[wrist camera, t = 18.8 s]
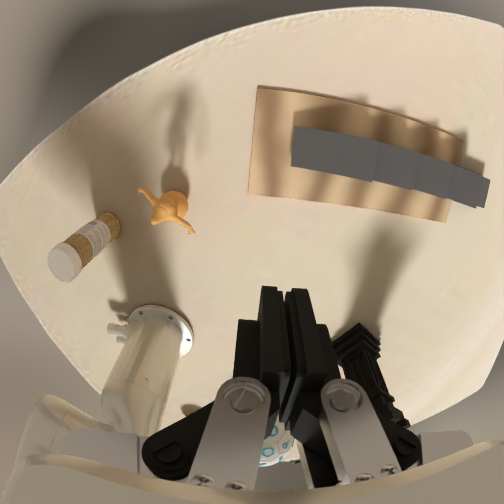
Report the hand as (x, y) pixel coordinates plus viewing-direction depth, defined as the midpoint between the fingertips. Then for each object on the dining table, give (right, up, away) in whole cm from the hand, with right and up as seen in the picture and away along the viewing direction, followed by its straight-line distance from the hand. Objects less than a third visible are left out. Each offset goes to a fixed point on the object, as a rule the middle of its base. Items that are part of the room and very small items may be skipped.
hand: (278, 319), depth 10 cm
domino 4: (+23, +14, +21) cm, 34 cm away
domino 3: (+16, +14, +21) cm, 30 cm away
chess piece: (+18, -15, +37) cm, 44 cm away
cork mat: (+15, +15, +22) cm, 31 cm away
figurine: (-11, +10, +26) cm, 30 cm away
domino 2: (+10, +15, +21) cm, 28 cm away
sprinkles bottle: (-23, +7, +28) cm, 37 cm away
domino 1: (+4, +15, +21) cm, 26 cm away
